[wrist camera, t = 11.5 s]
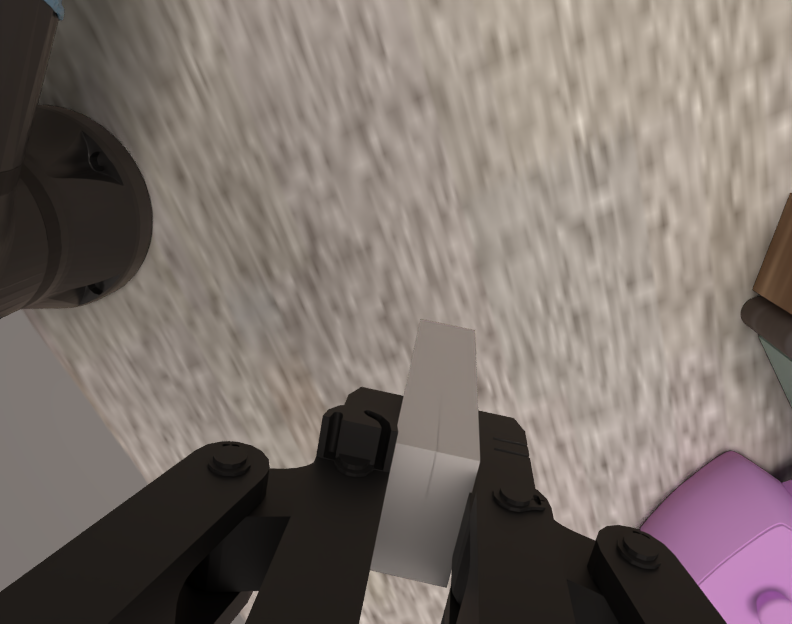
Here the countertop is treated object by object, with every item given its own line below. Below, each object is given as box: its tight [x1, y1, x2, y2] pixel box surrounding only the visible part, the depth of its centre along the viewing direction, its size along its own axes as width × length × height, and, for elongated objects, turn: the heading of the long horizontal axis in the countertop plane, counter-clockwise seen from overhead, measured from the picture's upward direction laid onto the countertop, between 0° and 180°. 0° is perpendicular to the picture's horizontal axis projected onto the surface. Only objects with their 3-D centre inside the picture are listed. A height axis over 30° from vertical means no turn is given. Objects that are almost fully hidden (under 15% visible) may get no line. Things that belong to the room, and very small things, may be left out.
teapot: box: [640, 451, 792, 624], centre depth 46 cm, size 18×10×10 cm, turn 144°
